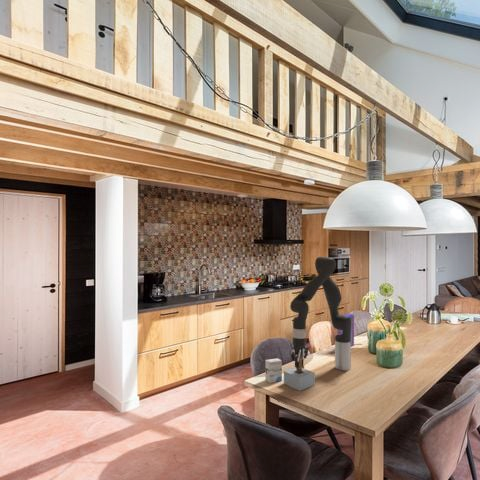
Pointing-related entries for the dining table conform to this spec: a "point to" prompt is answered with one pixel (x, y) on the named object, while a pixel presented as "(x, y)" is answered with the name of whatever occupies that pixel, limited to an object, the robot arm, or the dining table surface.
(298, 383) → the hole block
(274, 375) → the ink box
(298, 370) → the long pin
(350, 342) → the cereal box
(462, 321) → the dining table surface
